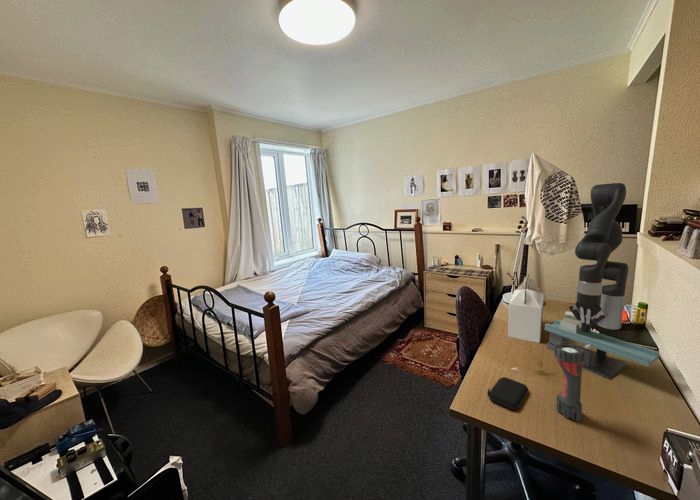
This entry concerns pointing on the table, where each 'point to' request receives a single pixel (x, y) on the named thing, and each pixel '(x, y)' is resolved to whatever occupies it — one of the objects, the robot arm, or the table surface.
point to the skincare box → (570, 316)
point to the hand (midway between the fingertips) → (585, 331)
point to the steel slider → (571, 325)
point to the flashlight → (570, 379)
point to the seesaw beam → (603, 344)
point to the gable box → (526, 312)
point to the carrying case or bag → (508, 393)
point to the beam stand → (598, 362)
